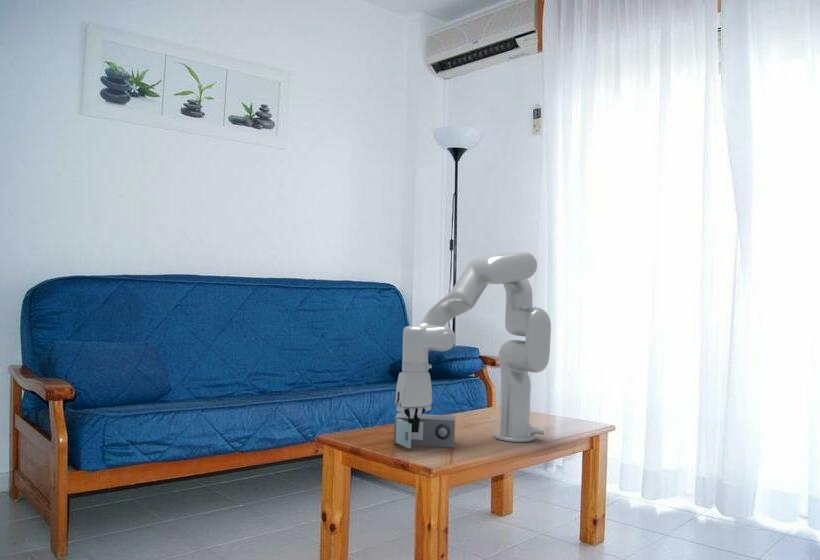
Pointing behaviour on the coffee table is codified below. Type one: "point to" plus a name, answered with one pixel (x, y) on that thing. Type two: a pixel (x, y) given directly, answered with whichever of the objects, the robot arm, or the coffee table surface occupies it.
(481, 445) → the coffee table surface
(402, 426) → the side door
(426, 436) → the housing
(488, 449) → the coffee table surface
